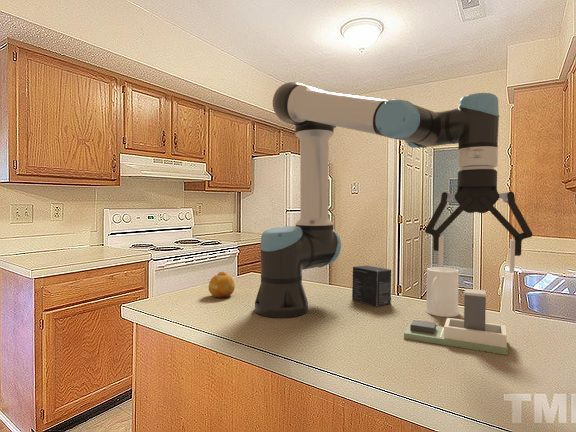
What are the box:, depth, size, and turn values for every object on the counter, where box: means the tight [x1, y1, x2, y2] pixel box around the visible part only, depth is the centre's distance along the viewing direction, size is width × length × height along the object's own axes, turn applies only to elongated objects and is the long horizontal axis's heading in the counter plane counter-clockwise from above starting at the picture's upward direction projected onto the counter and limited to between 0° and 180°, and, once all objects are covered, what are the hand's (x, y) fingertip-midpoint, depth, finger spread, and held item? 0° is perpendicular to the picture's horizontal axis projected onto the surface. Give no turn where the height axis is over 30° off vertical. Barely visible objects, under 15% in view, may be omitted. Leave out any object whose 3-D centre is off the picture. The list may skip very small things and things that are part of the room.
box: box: [351, 265, 392, 307], centre depth 114 cm, size 11×7×10 cm, turn 34°
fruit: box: [208, 271, 236, 298], centre depth 121 cm, size 8×8×8 cm
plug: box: [463, 288, 487, 331], centre depth 80 cm, size 4×4×10 cm
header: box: [443, 317, 508, 348], centre depth 80 cm, size 12×7×2 cm, turn 62°
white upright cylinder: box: [425, 266, 460, 318], centre depth 101 cm, size 12×8×12 cm
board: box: [403, 319, 509, 356], centre depth 82 cm, size 20×8×3 cm, turn 62°
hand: (474, 268), depth 80 cm, fingers open, 13 cm apart
